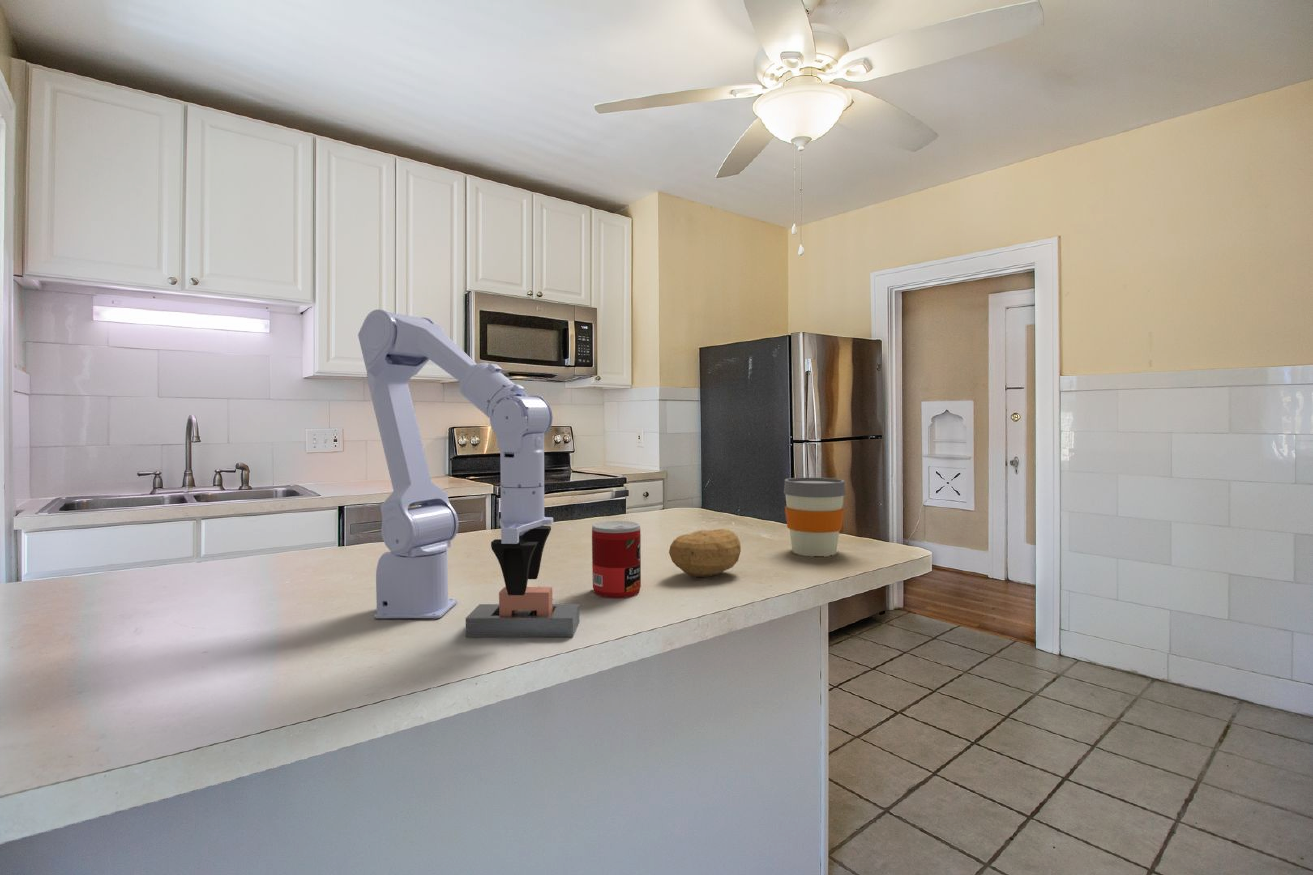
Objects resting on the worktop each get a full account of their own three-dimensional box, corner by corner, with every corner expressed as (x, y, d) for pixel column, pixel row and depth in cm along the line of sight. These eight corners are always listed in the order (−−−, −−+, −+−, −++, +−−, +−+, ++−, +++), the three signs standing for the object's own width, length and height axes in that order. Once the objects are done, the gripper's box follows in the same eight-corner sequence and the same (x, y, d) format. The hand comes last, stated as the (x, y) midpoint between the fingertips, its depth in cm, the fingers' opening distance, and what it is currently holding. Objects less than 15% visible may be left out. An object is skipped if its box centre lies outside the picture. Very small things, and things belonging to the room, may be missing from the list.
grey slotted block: (465, 637, 81) (465, 618, 81) (479, 621, 87) (479, 604, 87) (573, 637, 81) (572, 617, 81) (579, 621, 87) (579, 603, 87)
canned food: (635, 599, 97) (634, 529, 97) (586, 596, 99) (585, 528, 98) (645, 586, 105) (645, 521, 104) (600, 584, 106) (599, 520, 106)
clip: (499, 632, 83) (498, 592, 82) (504, 626, 85) (504, 587, 85) (549, 632, 82) (548, 592, 82) (552, 626, 85) (552, 586, 85)
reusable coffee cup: (858, 553, 128) (858, 481, 127) (815, 561, 121) (815, 485, 121) (813, 543, 139) (813, 476, 138) (771, 549, 132) (771, 479, 131)
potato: (657, 574, 112) (657, 530, 112) (721, 565, 119) (721, 523, 119) (685, 587, 104) (685, 540, 103) (753, 576, 110) (753, 531, 110)
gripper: (541, 492, 76) (542, 602, 76) (561, 479, 90) (562, 572, 91) (483, 492, 76) (485, 602, 76) (513, 479, 90) (514, 572, 91)
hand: (523, 586), depth 84 cm, fingers open, 7 cm apart
